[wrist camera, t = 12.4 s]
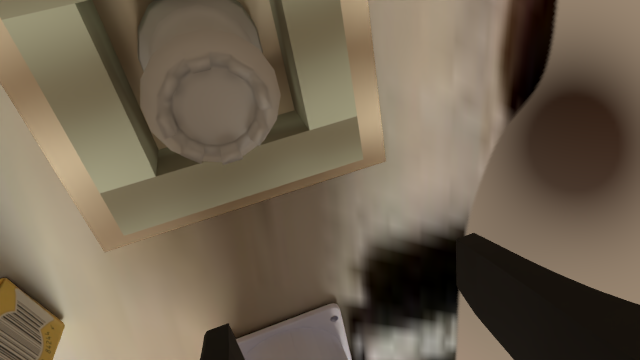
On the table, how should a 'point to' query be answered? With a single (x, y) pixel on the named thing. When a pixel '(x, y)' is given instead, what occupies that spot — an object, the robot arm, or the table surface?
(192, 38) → the rook chess piece
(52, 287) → the table surface
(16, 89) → the socket stand
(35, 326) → the candy box
